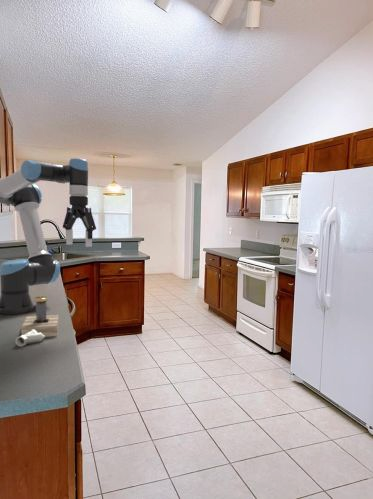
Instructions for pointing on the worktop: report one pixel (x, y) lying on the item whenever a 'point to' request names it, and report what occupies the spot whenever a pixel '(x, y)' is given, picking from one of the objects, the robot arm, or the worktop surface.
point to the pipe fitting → (29, 338)
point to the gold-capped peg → (41, 309)
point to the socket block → (42, 325)
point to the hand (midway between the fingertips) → (78, 245)
